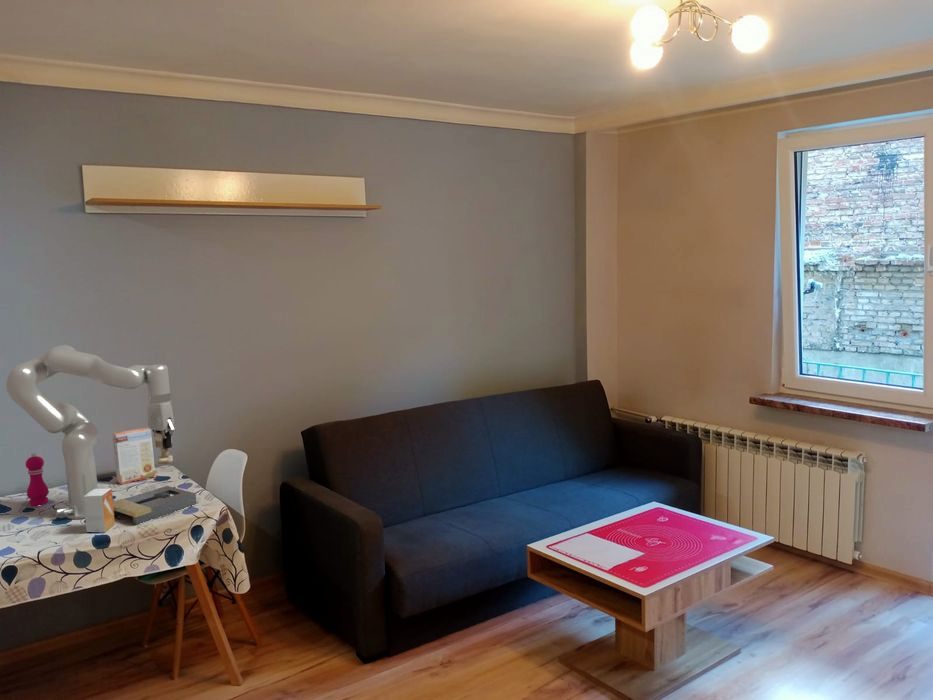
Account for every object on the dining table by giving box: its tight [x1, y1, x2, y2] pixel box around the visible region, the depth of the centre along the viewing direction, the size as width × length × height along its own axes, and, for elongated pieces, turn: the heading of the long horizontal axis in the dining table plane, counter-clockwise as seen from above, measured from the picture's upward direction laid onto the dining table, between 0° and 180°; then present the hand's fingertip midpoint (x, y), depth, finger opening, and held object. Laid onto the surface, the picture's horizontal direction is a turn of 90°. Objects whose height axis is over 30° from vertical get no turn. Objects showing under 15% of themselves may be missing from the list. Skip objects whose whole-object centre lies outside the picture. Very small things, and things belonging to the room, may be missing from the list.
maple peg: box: [154, 431, 174, 465], centre depth 271 cm, size 5×5×11 cm
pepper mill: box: [25, 452, 50, 507], centre depth 278 cm, size 7×7×20 cm
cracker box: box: [111, 427, 156, 485], centre depth 306 cm, size 14×6×21 cm, turn 130°
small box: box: [84, 487, 116, 533], centre depth 252 cm, size 8×6×13 cm
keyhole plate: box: [113, 485, 197, 526], centre depth 269 cm, size 24×18×4 cm
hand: (163, 446), depth 271 cm, fingers closed on maple peg, 4 cm apart
